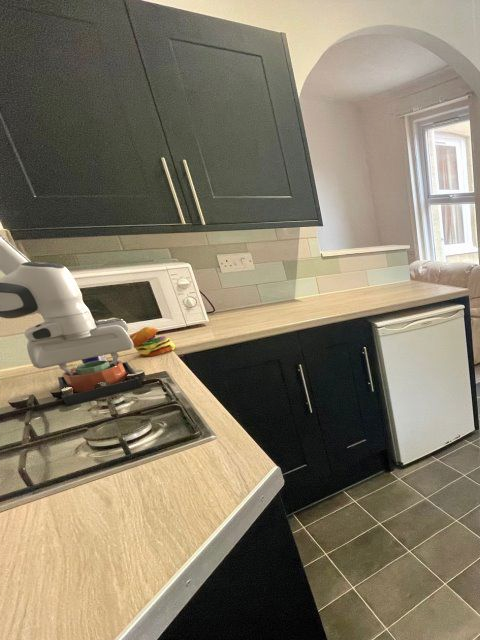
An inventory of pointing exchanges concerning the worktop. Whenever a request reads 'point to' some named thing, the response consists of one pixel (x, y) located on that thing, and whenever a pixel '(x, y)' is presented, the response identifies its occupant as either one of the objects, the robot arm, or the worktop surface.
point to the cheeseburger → (151, 342)
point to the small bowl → (92, 367)
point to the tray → (100, 389)
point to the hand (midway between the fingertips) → (95, 373)
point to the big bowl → (96, 378)
